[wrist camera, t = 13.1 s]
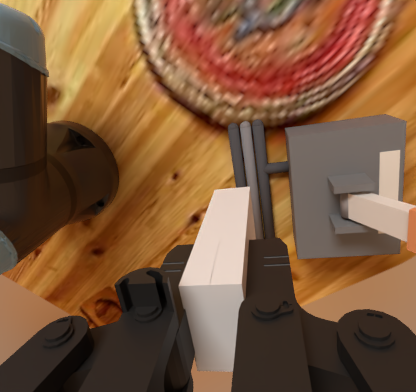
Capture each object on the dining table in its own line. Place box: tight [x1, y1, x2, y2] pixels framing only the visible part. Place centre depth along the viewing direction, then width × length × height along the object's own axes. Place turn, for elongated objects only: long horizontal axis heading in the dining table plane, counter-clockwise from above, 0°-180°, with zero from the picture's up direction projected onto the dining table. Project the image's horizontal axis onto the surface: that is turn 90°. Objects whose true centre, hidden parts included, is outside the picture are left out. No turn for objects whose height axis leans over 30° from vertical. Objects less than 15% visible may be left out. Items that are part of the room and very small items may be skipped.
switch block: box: [285, 114, 406, 259], centre depth 38 cm, size 12×16×10 cm
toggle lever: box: [340, 191, 416, 253], centre depth 31 cm, size 2×4×11 cm
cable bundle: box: [228, 120, 289, 239], centre depth 43 cm, size 8×19×1 cm, turn 9°
